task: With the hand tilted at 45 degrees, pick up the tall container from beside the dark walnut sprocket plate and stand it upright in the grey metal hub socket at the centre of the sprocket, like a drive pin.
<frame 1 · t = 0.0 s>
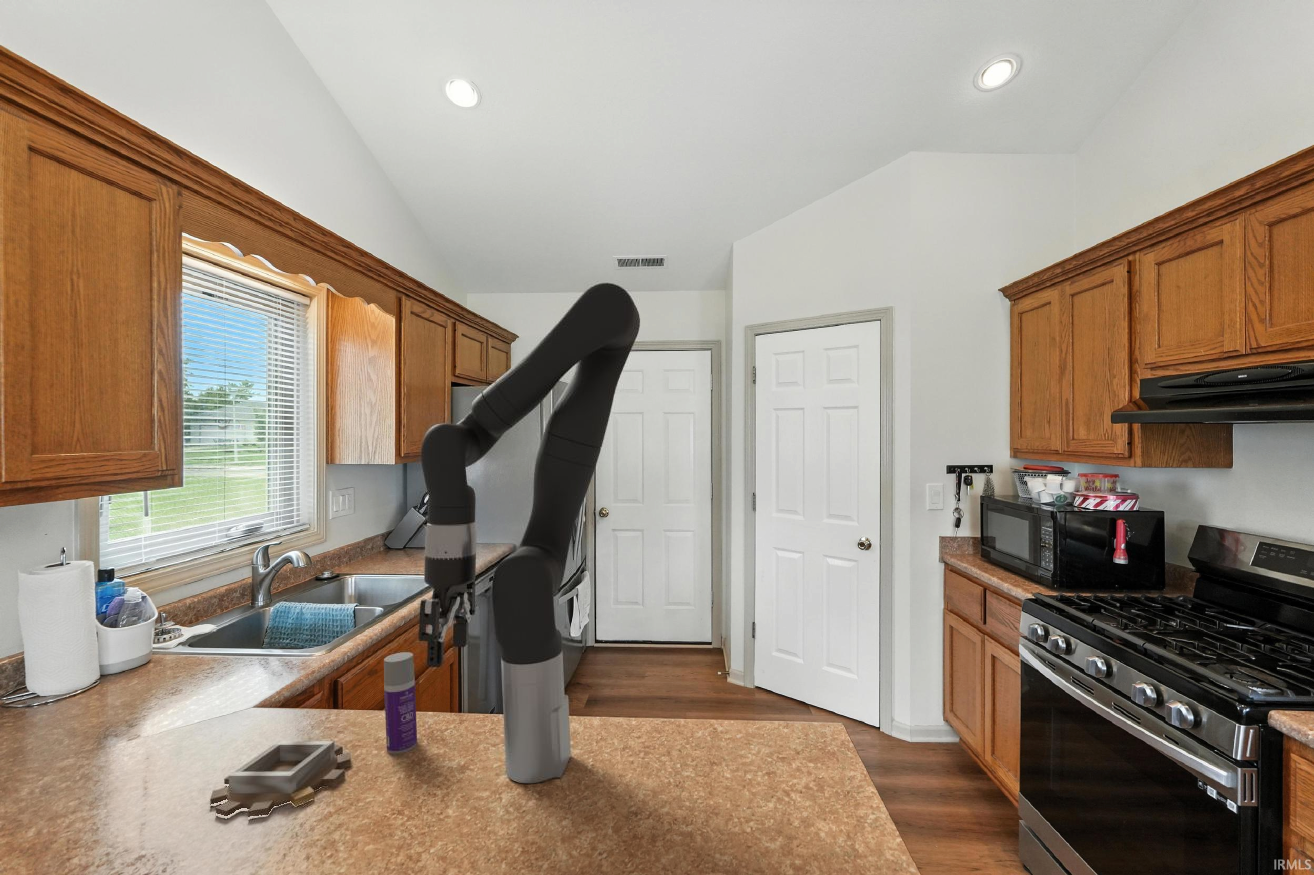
hand: (448, 655, 88), 17 cm above the worktop, tool pointing down, fingers open, 8 cm apart
sprocket: (285, 782, 86), on the worktop
container: (402, 748, 94), on the worktop
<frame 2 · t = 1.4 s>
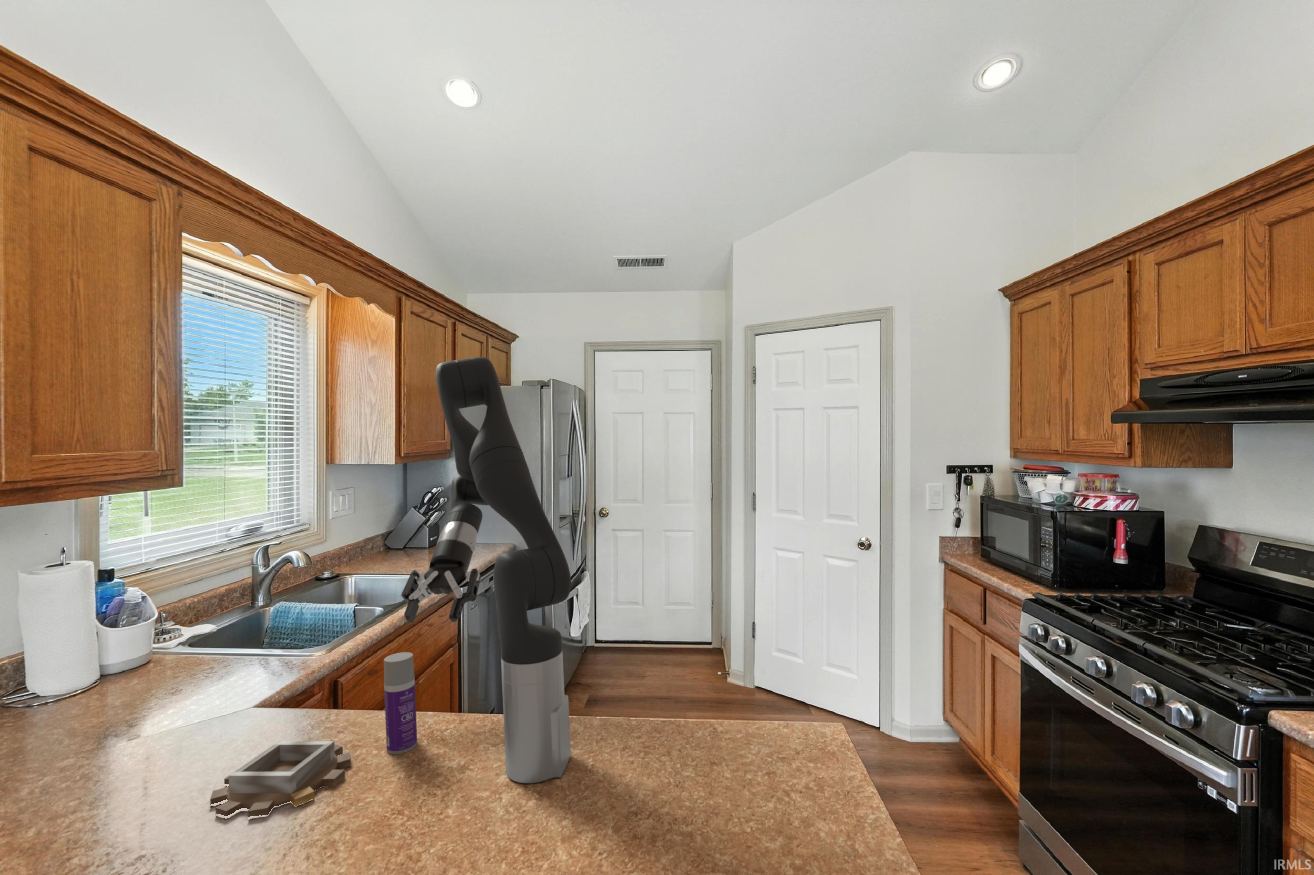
hand: (430, 620, 106), 18 cm above the worktop, tool tilted 45°, fingers open, 8 cm apart
nothing on the worktop moved.
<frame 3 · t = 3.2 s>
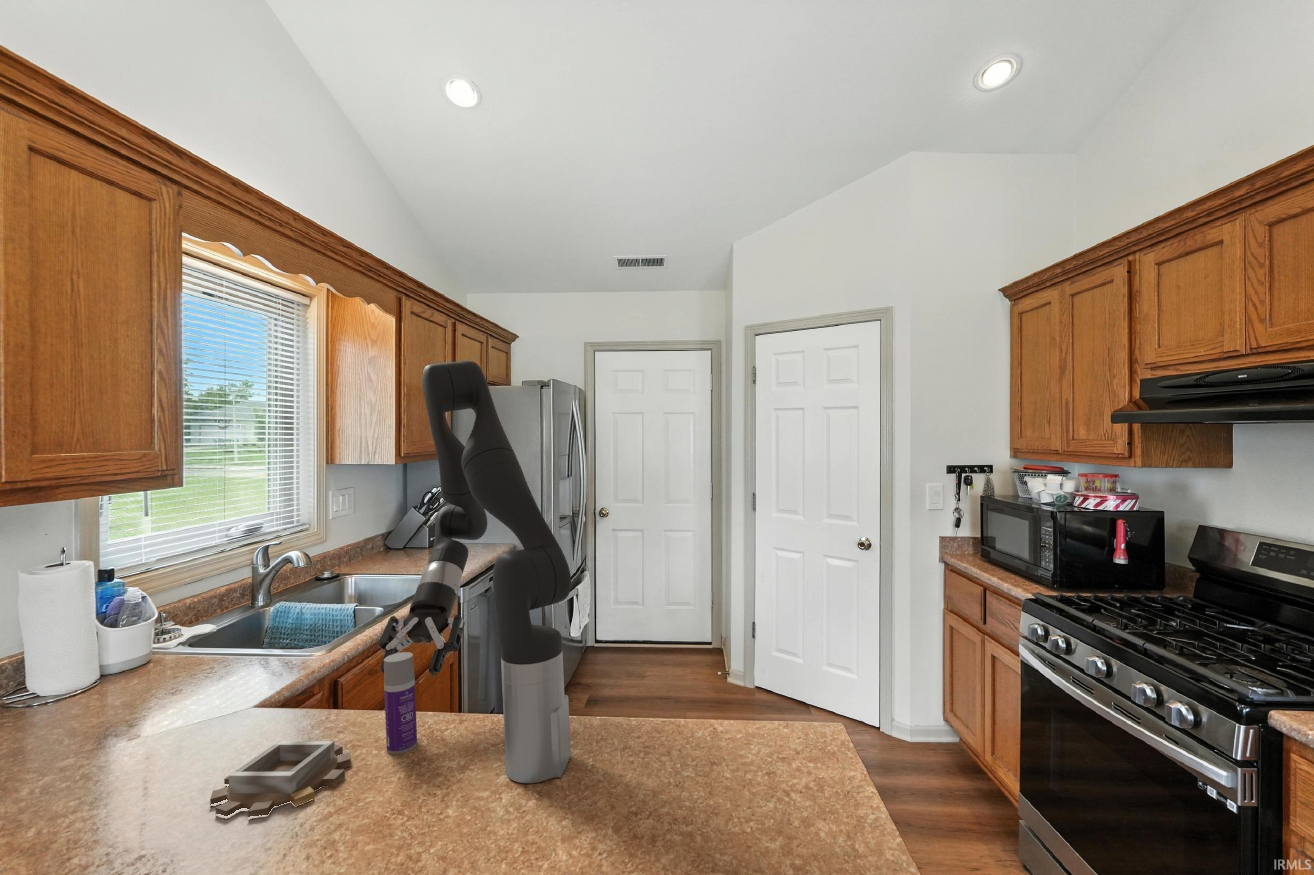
hand: (408, 673, 98), 11 cm above the worktop, tool tilted 45°, fingers open, 8 cm apart
nothing on the worktop moved.
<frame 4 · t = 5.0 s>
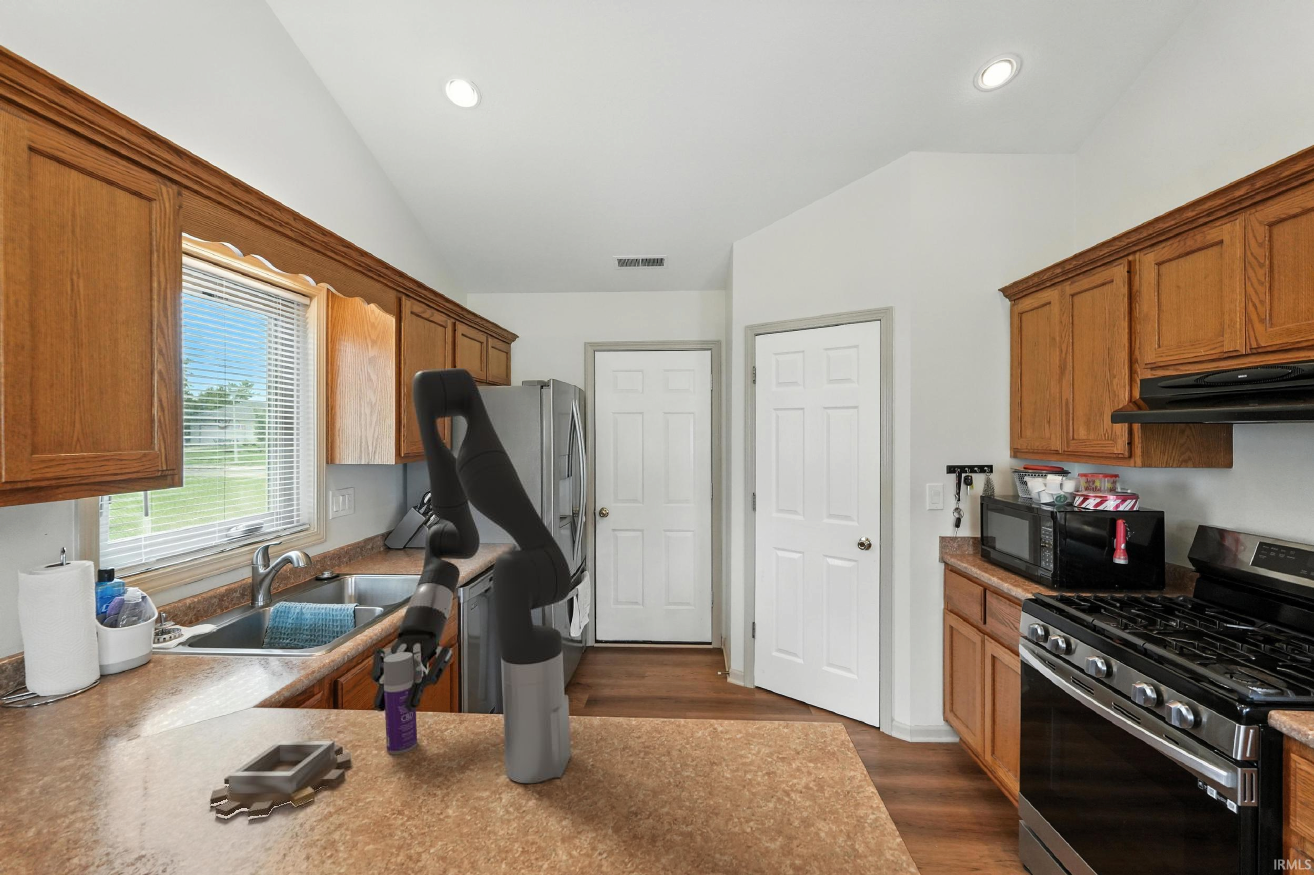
hand: (394, 709, 93), 7 cm above the worktop, tool tilted 45°, fingers closed on container, 4 cm apart
container: (402, 748, 94), on the worktop, touching gripper
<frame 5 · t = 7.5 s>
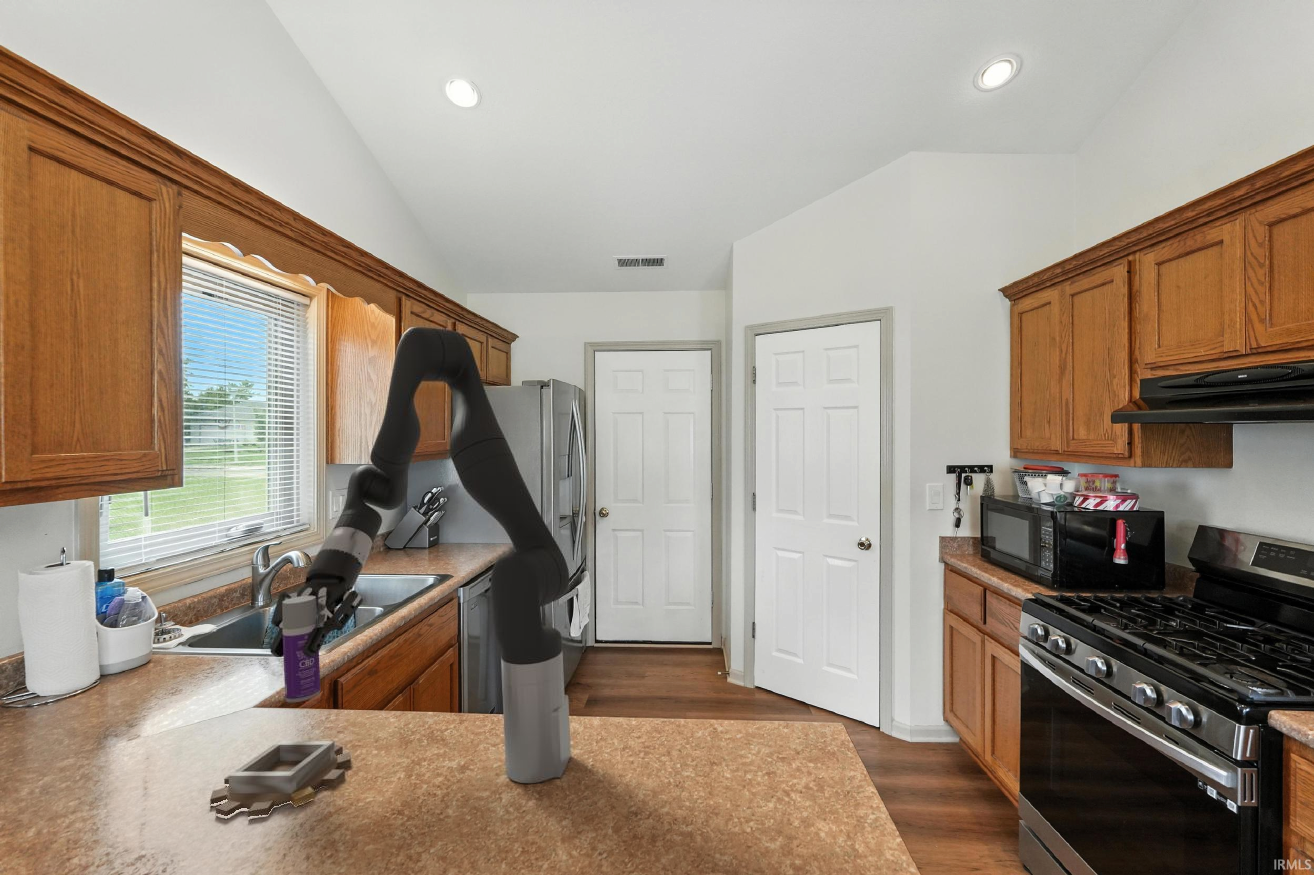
hand: (292, 654, 86), 19 cm above the worktop, tool tilted 45°, fingers closed on container, 4 cm apart
container: (303, 696, 88), point 12 cm above the worktop, touching gripper
when the fingers open (9 cm above the worktop, at t = 10.0 s): container drops 1 cm, resting on sprocket.
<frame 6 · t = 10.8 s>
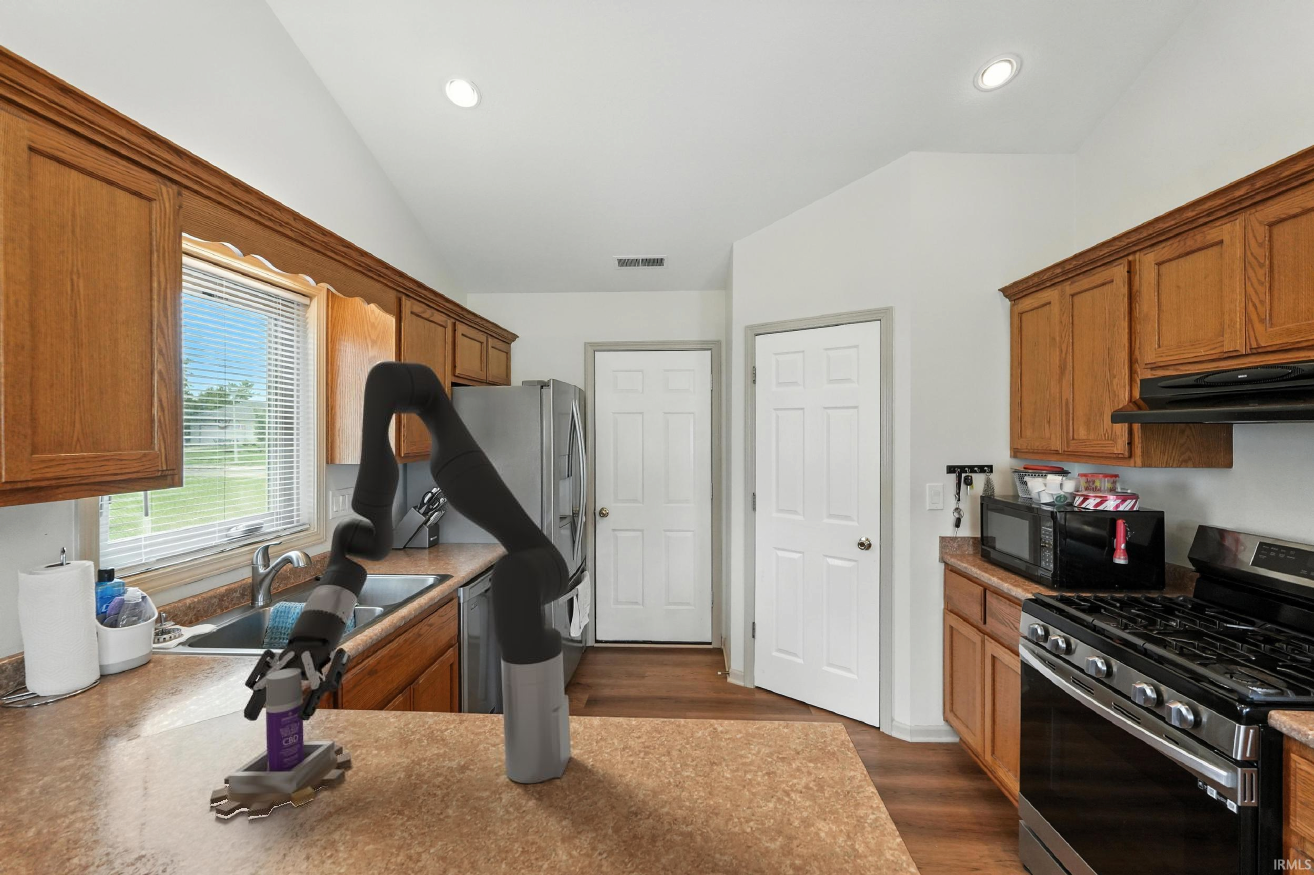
hand: (275, 719, 84), 10 cm above the worktop, tool tilted 45°, fingers open, 8 cm apart
container: (285, 774, 86), point 1 cm above the worktop, touching sprocket
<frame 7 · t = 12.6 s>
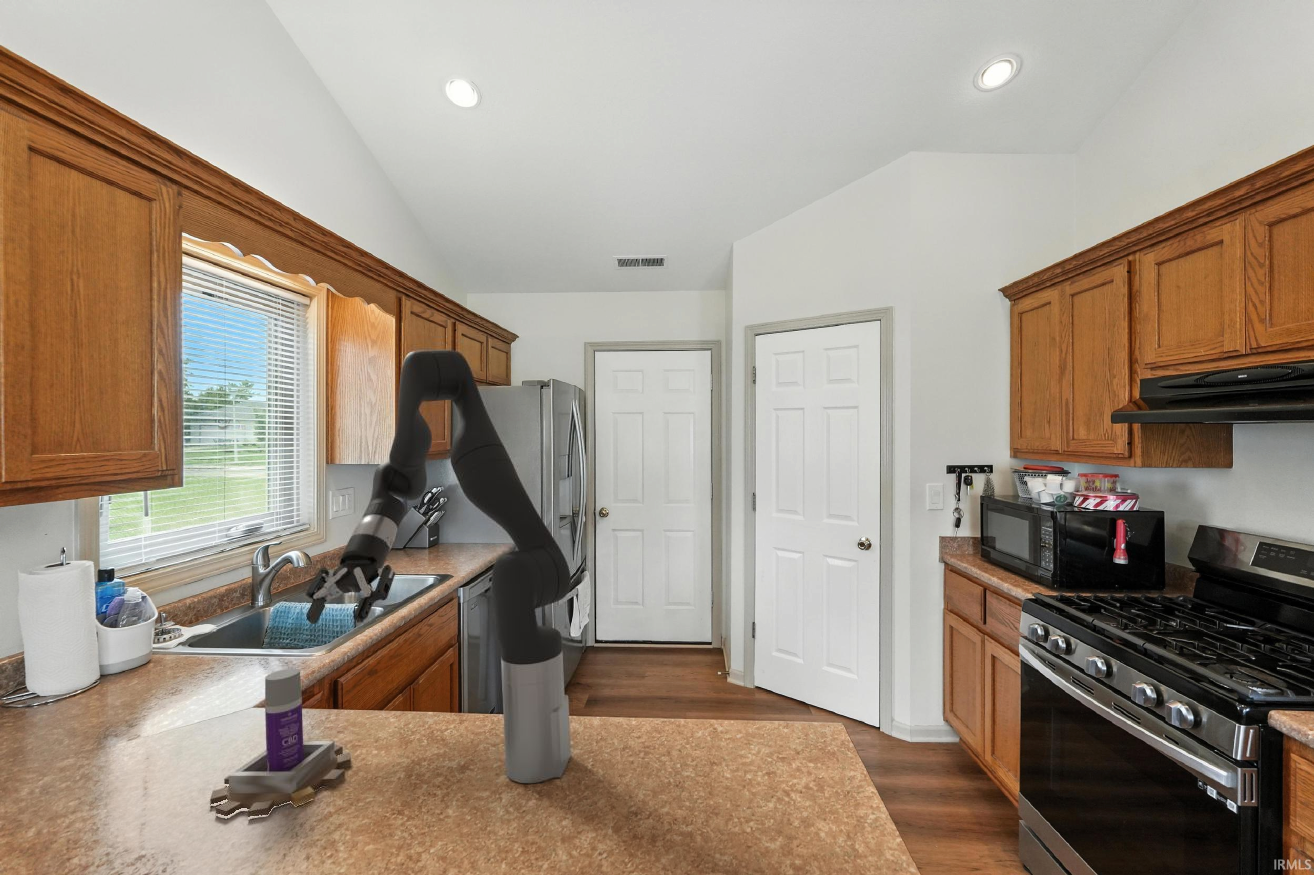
hand: (334, 621, 98), 21 cm above the worktop, tool tilted 45°, fingers open, 8 cm apart
nothing on the worktop moved.
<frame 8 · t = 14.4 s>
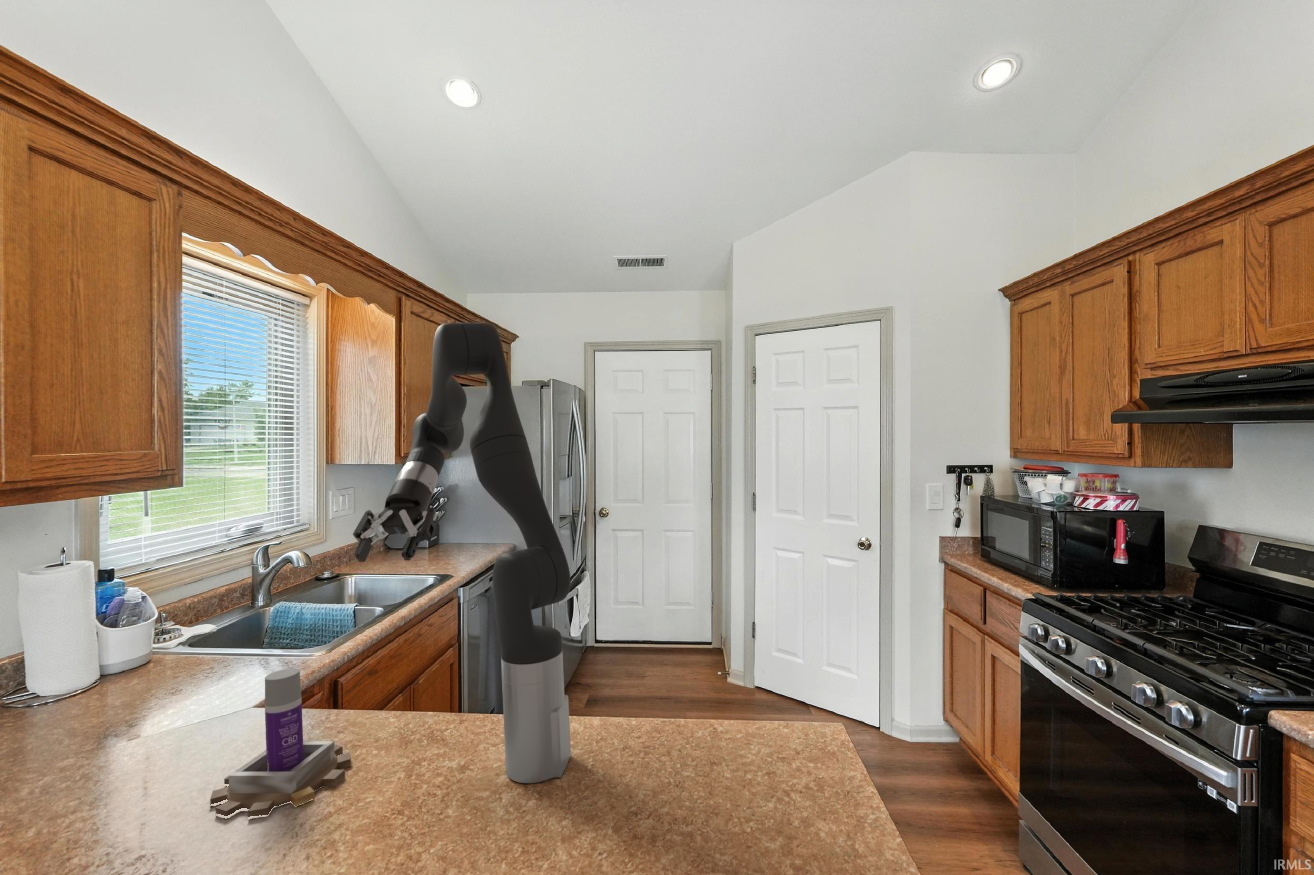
hand: (382, 559, 100), 31 cm above the worktop, tool tilted 45°, fingers open, 8 cm apart
nothing on the worktop moved.
at the end: container 0.2 cm off-centre on the sprocket, point 1.0 cm above the sprocket's base; container tilted 0°; the gripper is holding nothing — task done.
